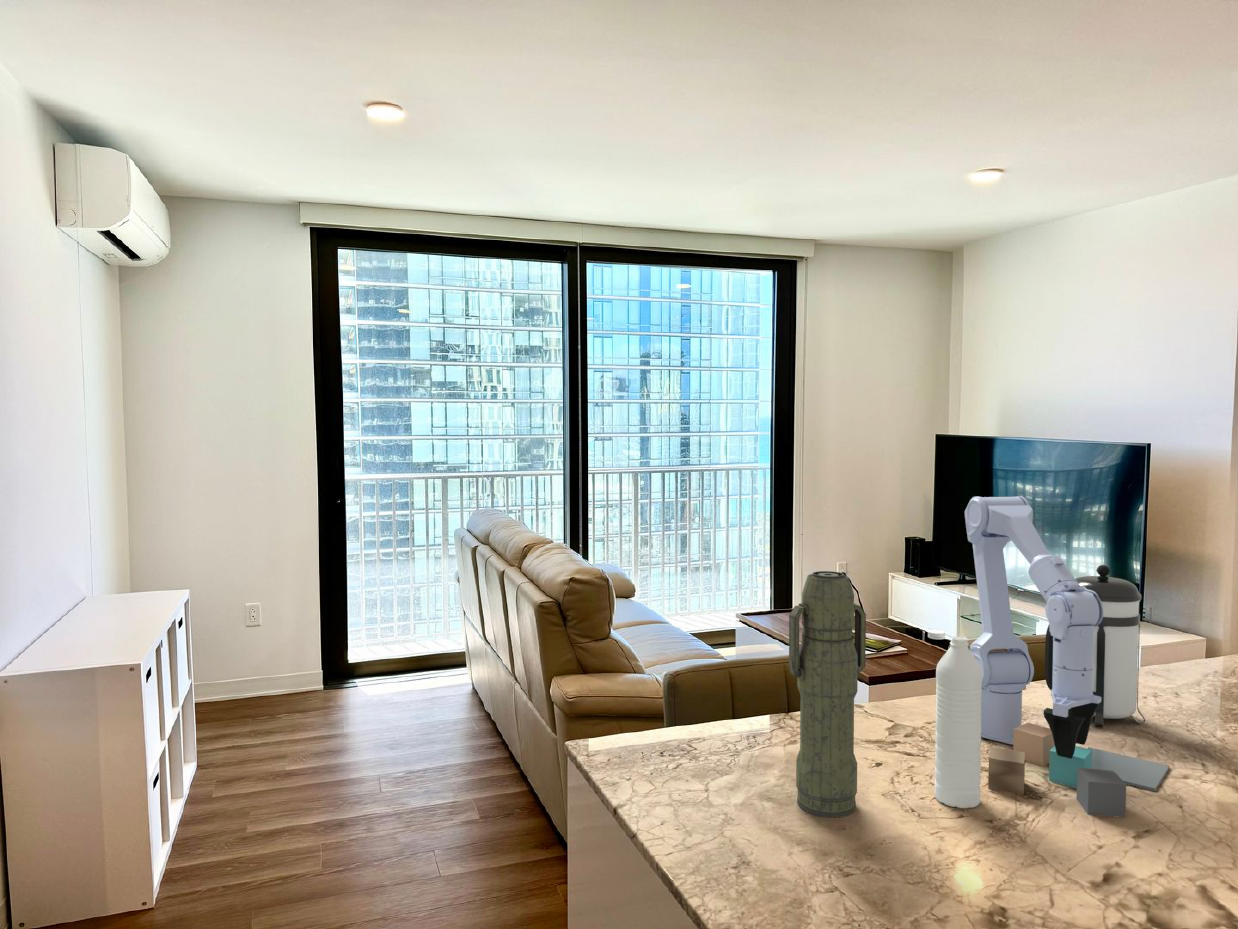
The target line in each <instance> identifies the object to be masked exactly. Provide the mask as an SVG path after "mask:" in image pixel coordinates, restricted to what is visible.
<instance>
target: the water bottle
mask: <svg viewBox="0 0 1238 929" xmlns="http://www.w3.org/2000/svg"><path fill="white" fill-rule="evenodd" d="M927 637H928V638H929V639H932V640H945V639H946V633H945V631H944V630H939V629H930V630H928V631H927ZM950 639H951V640H950V642H949V645H950V647H949V648H948V649H947V650H946V652H945V653H944V654H943V655H942V657H941V658H940V660H938V662H937V665H936V670H935V678H936V680H935V681H936V682H935V686H936V689H935V692H936V693H935V698H936V699H935V703H936V704H935V733H934V735H935V736H934V739H935V740H934V741H935V746H934V750H935V753H934V766H935V768H934V779H935V780H934V786H933V787H934V793H933V794H934V798H936V800H937V801H938V802H940V804H941V803H942V804H944V805H946V806H948V807H952V808H955V807H956V808H958V809H969V808H970V809H972V808H976V807H977V806H979V804H981V787H980V786H981V769H982V767H981V760H982V751H981V747H982V737H981V736H980V735H981V702H982V700H981V697H982V694H981V692H982V688H981V687H982V671H981V668H980V665H979V664H978V662H977V661H976V659H975V658H974V656H973V655H972V653H971V652H970V648H969V647H970V644H969V640H968V638H966V637H963V636H952V637H951V638H950Z"/></svg>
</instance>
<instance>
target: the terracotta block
mask: <svg viewBox="0 0 1238 929" xmlns="http://www.w3.org/2000/svg"><path fill="white" fill-rule="evenodd" d="M1012 746H1013V751H1019V752H1025V762H1028V763H1032V764H1035V765H1038V766H1041V767H1044V766H1046V765H1048V764H1049V758H1050V750H1051V749H1052V748H1053V747H1054V746H1055V744H1054V739H1053V735H1052V732H1051V729H1050V727H1045V726H1042V725H1039V724H1034V723H1031V722H1026V723H1024V724H1022V725H1021V726H1019V727H1017V728H1015V729H1014V745H1012Z"/></svg>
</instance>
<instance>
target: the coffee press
mask: <svg viewBox="0 0 1238 929" xmlns="http://www.w3.org/2000/svg"><path fill="white" fill-rule="evenodd" d="M1110 572H1111V570H1110V568H1109V567H1108V566H1107V565H1105V564H1101V565H1098V566H1097V568H1096V573H1097V574H1098V575H1085V576H1079V577H1076V578H1075V579H1076V580H1077V582H1078V583H1079V585H1080V586H1085V587H1086V589H1088V590H1092V591H1094V592H1096V593H1097V595H1098V597H1099V599H1100V600H1101V603H1102V606H1103V618H1102V621H1101V622H1100V624H1099V625H1097V626H1094V657H1093V694H1094V695H1095V696H1100V697H1101V702H1100V705H1099V706H1098V708H1097V709H1096V711H1095V713H1094V715H1093V717H1094V718H1095V719H1094V721H1095V722H1094V727H1095V728H1100V729H1104V719H1124V718H1125V719H1126V718H1128V717H1130V718H1131V719H1133V721H1135V722H1136V724H1138V725H1143V724H1145V723H1146V718H1145V716H1144V715H1143V713H1142V712H1141V710H1140V708H1139V679H1138V677H1139V676H1140V675H1139V674H1140V672H1139V671H1140V668H1139V666H1140V665H1139V664H1140V663H1139V662H1140V636H1139V635H1141V634H1140V630H1141V629H1140V628H1141V627H1140V626H1141V624H1140V623H1141V613H1139V609H1140V607H1139V605H1140V602H1141V600H1142V594H1141V593H1140V592H1139V590H1138V588H1137V586H1136V585H1135V584H1134V583H1132V582H1130V581H1129V580H1126V579H1123V578H1118V577H1113V576H1112V577H1111V576H1108V575H1109V574H1110ZM1044 641H1045V644H1044V646H1045V647H1044V678H1045V683H1046V686H1047V687H1048V689H1049V690H1050V691H1051V690H1052V680H1053V636H1051V633H1050V626H1049V624H1048V626H1047V628H1046V633H1045V640H1044ZM1136 711H1138V713H1139V714H1140V716H1141V717H1142V719H1143V720H1142V721H1139V720H1138V719H1137V718H1136V717H1135V716H1134V714H1135V713H1136Z"/></svg>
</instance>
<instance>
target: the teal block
mask: <svg viewBox="0 0 1238 929" xmlns="http://www.w3.org/2000/svg"><path fill="white" fill-rule="evenodd" d="M1087 748H1088V747H1082V746H1077V745H1076V746H1075V752H1074V755H1073V757H1072V759H1070V758H1066V757H1062V756H1058V755H1057V752H1056V749H1055V746H1054V747H1053V748H1052V749H1051V750H1050V758H1049V763H1048V764H1049V766H1048V767H1049V768H1048V769H1049V771H1048V773H1049V775H1048V777H1049V778H1048V782H1052V783H1056V784H1060V785H1064V786H1067V787H1073V788H1075V789H1077V768H1086V769H1092V749H1087Z"/></svg>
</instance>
